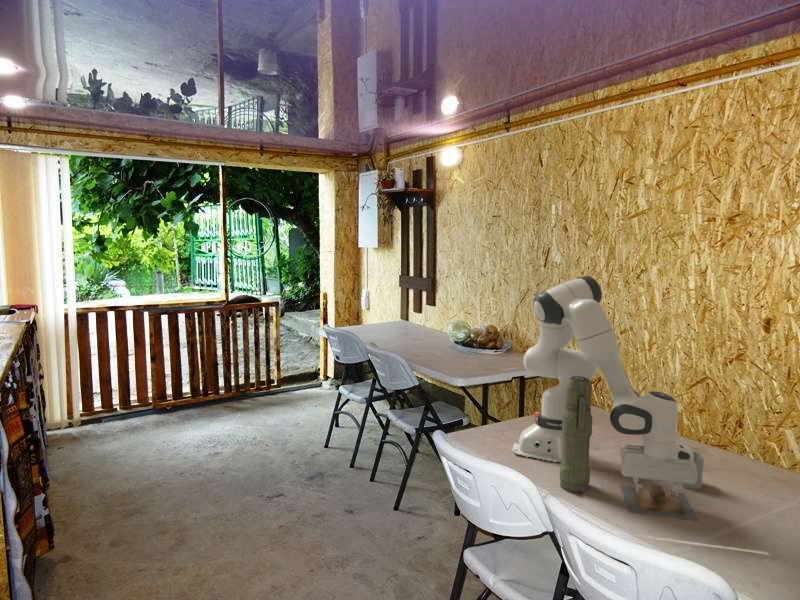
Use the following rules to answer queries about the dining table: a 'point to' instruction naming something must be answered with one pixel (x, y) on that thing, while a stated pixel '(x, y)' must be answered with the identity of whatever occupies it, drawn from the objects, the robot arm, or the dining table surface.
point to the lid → (657, 500)
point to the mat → (634, 509)
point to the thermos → (576, 436)
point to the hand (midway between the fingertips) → (656, 493)
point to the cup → (699, 466)
